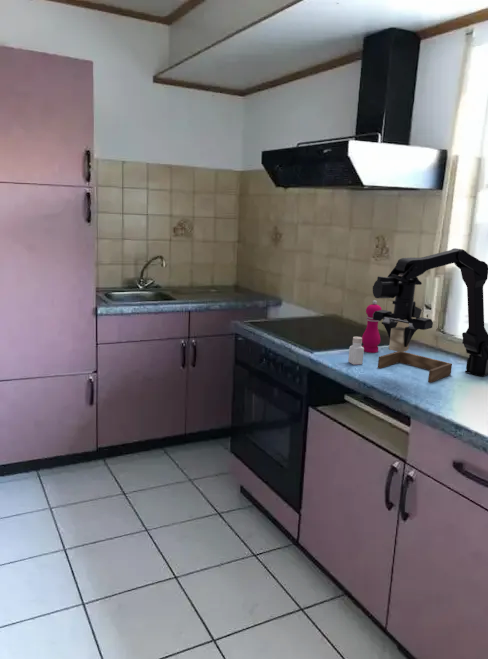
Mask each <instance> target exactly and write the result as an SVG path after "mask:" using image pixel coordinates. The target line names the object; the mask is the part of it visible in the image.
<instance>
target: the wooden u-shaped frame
mask: <svg viewBox="0 0 488 659" xmlns="http://www.w3.org/2000/svg"><path fill="white" fill-rule="evenodd" d="M399 363H400V364H404V365H408V366H411V367H416V368H419V369H423V370H427V371H428V378H427V382H428V383H430V384H431V383H434V382H436V381H439V380H441V379H443V378H447V377H449V376H451V374H452V367H453V364H452V362H447V361H443V360H439V359H435V358H430V357H426V356H423V355H420V354H419V355H418V354H415V353H410V352H408V351H407V352H406V351H404V352H398V351H393V352H391V353H387V354H384V355H381V356H378V361H377V369H383V368H386V367H390V366H392V365H397V364H399Z"/></svg>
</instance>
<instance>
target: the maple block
mask: <svg viewBox="0 0 488 659" xmlns="http://www.w3.org/2000/svg"><path fill="white" fill-rule="evenodd" d="M404 337H405V327H400V326H396V327H395V328H391V335H390V339H389V346H388V350H390V351H393V352H397V351H398V352H406V351H407V352H408V351H409V349H410V348H409V347H410V343H409V344H408V346H407V347H405V346H404Z"/></svg>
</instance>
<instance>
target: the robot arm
mask: <svg viewBox="0 0 488 659" xmlns="http://www.w3.org/2000/svg"><path fill="white" fill-rule="evenodd" d="M451 264H454V265H455V267H457V268H458V270H459V269H460V273H461V278H462V280H463V282H464V284H465V285H466V290H467V292H466V293H467V296H466V297H467V316H468V319H467V320H468V321H467V322H468V327H467V330H466V331H465V332H462V334H461V335H462V342H461V344H463V346H464V348H465V352H466V354H469V355H468V358H467V359H466V365H465V366H466V367H465V370H464V373H466V374H470V375H473V376H474V375H475V376H478V377H486V376H488V332H487V330H486V327H485V308H484V286H485V284H486V281H487V280H488V263H486V262H485V261H483V260H480V259H478V258H476V257H475V256H473V255H472V254H469V253H468V252H467V250H465V249H461V248H452V249H449V250H445V251H442V252H438V253H434V254H430V255H427V256H423V257H402V258H400V259H398V260H397V262H396V264H395V267H393V268H392V270H391V272H390V273H389V274H387V276H377V278H376V280H375V281H374V284H373V285H372V295H373V297H374V298H376V299H394V300H392V305H394V306H393V312H392V311H391V310H385V309H382V310H379V311H375V312H374V314H373V320H378V322H381V324H382V325H383V327H384V328H385V331H386V332H387V335H388V338H389V340H390V335H391V328H395V327H398V326H397V325H398V323H399V322H400V323H403V324H408V326H405V327H404V328H405V337H404V346H405V347H407V346H408V344H409V345H410V342H411V339H412V338H413V336H414V334H416V331H418V330H423V331H425V330H428V329H433V325H434V324H433V320H432V319H431V318H427V317H421V314H422V309H421V308H419V307H418V306H416V304H417V303H416V301H414V299H415V290H416V286H417V285H419V286H421V285H422V284H423V283H422V281H421V280H419V278H418V277H419V276H422V275H423V274H425V272H428V270H432V269H435V268H440V267H443V266H448V265H451Z"/></svg>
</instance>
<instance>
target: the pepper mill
mask: <svg viewBox="0 0 488 659" xmlns="http://www.w3.org/2000/svg"><path fill="white" fill-rule="evenodd" d="M371 302H372V304H369V305H367V306H366V309H365V312H366V315H367V316H366V321H367V323H366V328H365V330H364V332H363V334H362V336H361V337H362V344H363V345H362V344H361V346H362V347H363V348H364V353H370V354H375V353H376V354H377V353H378V352H379V346H378V345H379V344H380V343H381V335H380V331H379V327H378V326H379V321H378V320H373V314H374V312H375V311H379V310H383V309H382V307H381V306H380V305H379V304H378V301H377V300H376V299H373V301H371Z"/></svg>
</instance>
